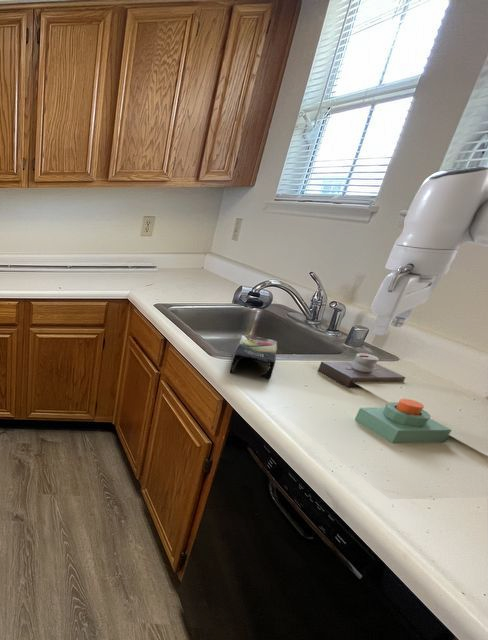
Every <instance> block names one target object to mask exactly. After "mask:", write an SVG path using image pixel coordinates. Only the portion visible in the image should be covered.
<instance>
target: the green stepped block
mask: <svg viewBox="0 0 488 640" xmlns="http://www.w3.org/2000/svg"><path fill="white" fill-rule="evenodd" d="M398 403H399V401H392V402H391V401H390V402H388V403H387V404H385V407H380V406H379V407H359V409H358V411H357V413H356V415H355V418H354V420H355V421H356V422H358V423H359V424H362V426H365V428H367V429H369V430H371V431H372V432H373V433H376V434H377V435H379V436H380V437H382V438H383V439H385V440H387V441H388V442H389V443H390V444H417V443H419V444H421V443H422V444H423V443H425V444H426V443H445V442H446V440H447V439H448V437H449V436H450V433H451V432H452V429H450V428H449V427H447V426H445V425H443V424H441V423H440V422H437V421H436V420H434V419H432V418H431V414H430V413H429V412H428V411H426V410H424V409H422V411H421V413H420V415H411V414H407V413H404V412H401V411H399V410H397V409H396V407H397V405H398Z"/></svg>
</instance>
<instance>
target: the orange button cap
mask: <svg viewBox="0 0 488 640" xmlns="http://www.w3.org/2000/svg"><path fill="white" fill-rule="evenodd" d="M398 402H399V403H398V405H397V407H396V409H397V410H399V411H401V412H404V413H407V414H411V415H420V413H421V411H422V410H424V407H425V406H424V404H423V403H421V402H419V401H417V400H414V399H410V398H409V399H408V398H400V399H399V401H398Z"/></svg>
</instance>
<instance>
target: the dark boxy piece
mask: <svg viewBox="0 0 488 640" xmlns="http://www.w3.org/2000/svg"><path fill="white" fill-rule="evenodd" d="M277 350H278V341H277V340H274V339H269V338H264V337H261V336H260V337H259V336H251V335H250V336H249V335H245V334H244V335H241V336H240V339H239V341H238V344H237V345H236V347H235V349H234V351H233V354H232V358H231V363H230V368H229V373H230V374H233V370H234V367H235V366H236V364H237V362H238V361H240V360H242V359H253V360H255V359H257V361H258V362H266V363H268V367H269V368H268V369H266V372H263V373H262V374H261V375H260V376H259V377H260V378H262V379H265V380H271V378H272V377H273V376H272V375H273V371H274V368H275V364H276V358H277Z"/></svg>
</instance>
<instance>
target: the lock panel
mask: <svg viewBox="0 0 488 640" xmlns="http://www.w3.org/2000/svg"><path fill="white" fill-rule="evenodd" d="M353 361H354V360H342V361H341V360H340V361H339V360H333V361H332V360H331V361H330V360H328V361H327V360H326V361H325V360H323V361H322V360H321V362H320V364H319V367H318V369H317V372H318V373H320V374H321V373H322V375H323V374H324V375H323V376H325V375H326V376H325V377H327V376H328V377H329V378H328V377H327V378H328V379H330V378H331V379H330V380H332V379H333V380H332V381H334V380H335V381H336V382H335V381H334V382H335V383H337V382H338V383H337V384H339V383H340V384H339V385H340V386H342V385H343V386H342V387H344V386H345V388H346V387H347V388H346V389H364V387H362V386H361V385H360V384H357V383H393V382H394V383H403V382H405V379H406V376H404V375H403V374H400V373H398V372H395V371H393V370H391V369H389V368H387V367H385V366H383V365H380V364H378V363H377V364H376V366H375V368H374V370H373V372H362V371H358V370H356V369H353V368H352V367H351V366H352V364H353Z"/></svg>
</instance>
